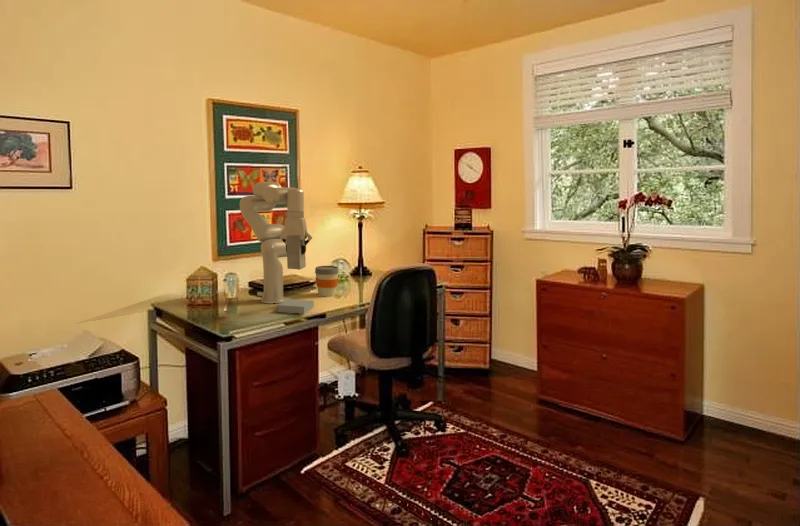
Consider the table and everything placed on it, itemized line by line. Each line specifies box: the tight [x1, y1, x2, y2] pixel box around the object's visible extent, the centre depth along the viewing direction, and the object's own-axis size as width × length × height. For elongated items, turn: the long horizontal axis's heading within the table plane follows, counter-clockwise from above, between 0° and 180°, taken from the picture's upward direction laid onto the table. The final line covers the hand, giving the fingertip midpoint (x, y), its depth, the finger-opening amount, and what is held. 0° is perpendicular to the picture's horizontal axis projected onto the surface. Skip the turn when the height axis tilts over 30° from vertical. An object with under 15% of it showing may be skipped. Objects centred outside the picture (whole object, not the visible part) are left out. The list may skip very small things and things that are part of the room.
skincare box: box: [286, 236, 307, 271], centre depth 255 cm, size 8×7×16 cm
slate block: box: [277, 298, 315, 315], centre depth 260 cm, size 13×13×4 cm
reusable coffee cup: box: [314, 265, 339, 298], centre depth 292 cm, size 13×13×15 cm
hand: (295, 253), depth 256 cm, fingers closed on skincare box, 6 cm apart
